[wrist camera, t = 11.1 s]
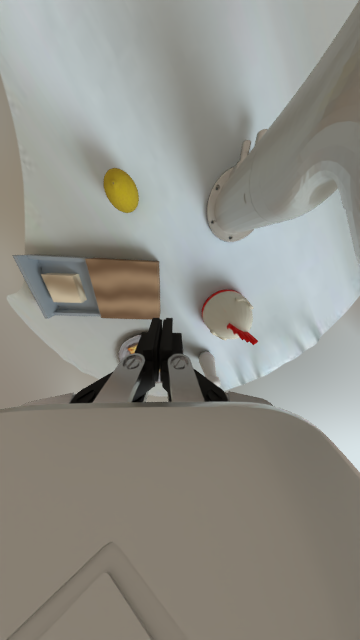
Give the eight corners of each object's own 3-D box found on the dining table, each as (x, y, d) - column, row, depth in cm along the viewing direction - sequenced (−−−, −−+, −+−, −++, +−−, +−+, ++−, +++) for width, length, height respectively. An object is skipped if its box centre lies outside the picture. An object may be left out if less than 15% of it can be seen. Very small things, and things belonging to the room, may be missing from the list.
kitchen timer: (226, 334, 45) (248, 369, 32) (193, 319, 42) (202, 351, 29) (254, 301, 40) (293, 327, 27) (218, 281, 36) (244, 299, 23)
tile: (71, 275, 31) (78, 273, 33) (41, 274, 30) (49, 272, 32) (81, 303, 34) (87, 299, 36) (53, 302, 34) (61, 298, 36)
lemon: (112, 182, 26) (88, 157, 19) (139, 181, 26) (127, 156, 19) (119, 217, 28) (101, 206, 21) (144, 216, 28) (134, 205, 21)
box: (35, 254, 31) (12, 255, 27) (94, 257, 32) (82, 259, 28) (59, 310, 38) (45, 318, 34) (107, 311, 39) (99, 319, 35)
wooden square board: (94, 257, 32) (85, 258, 28) (159, 261, 33) (157, 262, 29) (107, 311, 39) (101, 318, 36) (160, 313, 40) (159, 319, 37)
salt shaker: (211, 347, 48) (222, 378, 37) (213, 358, 51) (225, 389, 39) (196, 351, 49) (203, 382, 37) (199, 361, 51) (206, 393, 40)
